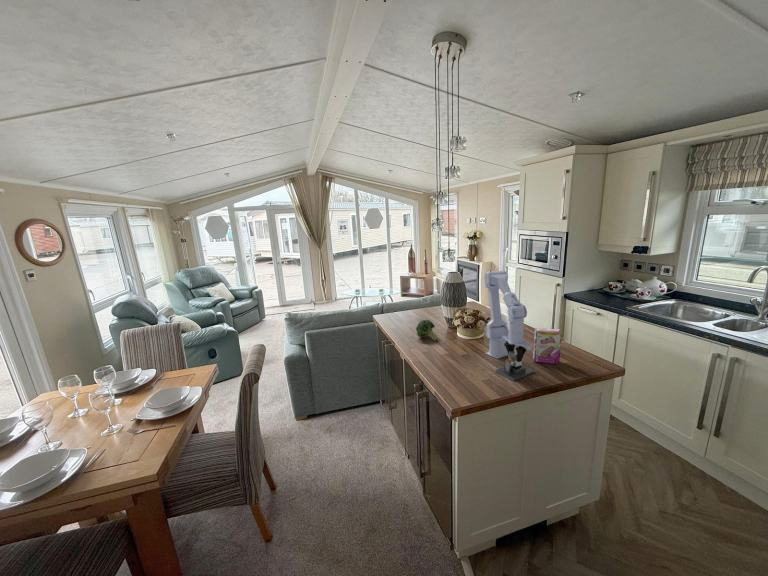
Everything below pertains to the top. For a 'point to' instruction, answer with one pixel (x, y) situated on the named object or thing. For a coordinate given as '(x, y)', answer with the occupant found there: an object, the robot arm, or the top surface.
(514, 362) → the layered white box
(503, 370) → the stand base
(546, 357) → the candy bar box
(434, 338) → the vegetable
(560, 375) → the top surface
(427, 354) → the top surface
